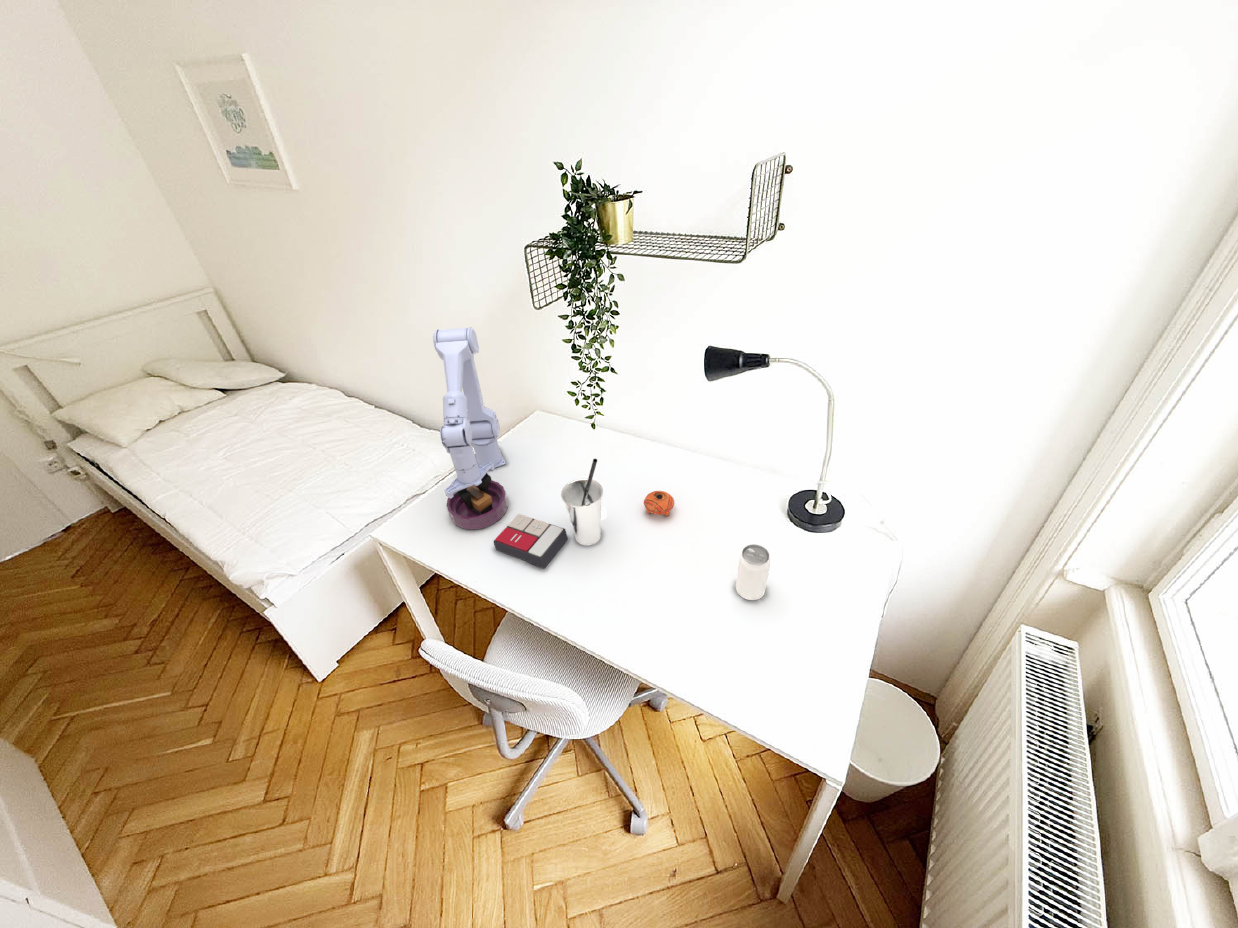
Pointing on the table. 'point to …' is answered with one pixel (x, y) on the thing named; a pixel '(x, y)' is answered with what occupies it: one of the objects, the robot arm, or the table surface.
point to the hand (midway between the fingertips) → (477, 502)
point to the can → (752, 572)
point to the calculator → (531, 540)
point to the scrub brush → (480, 500)
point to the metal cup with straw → (584, 507)
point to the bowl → (471, 519)
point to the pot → (659, 503)
